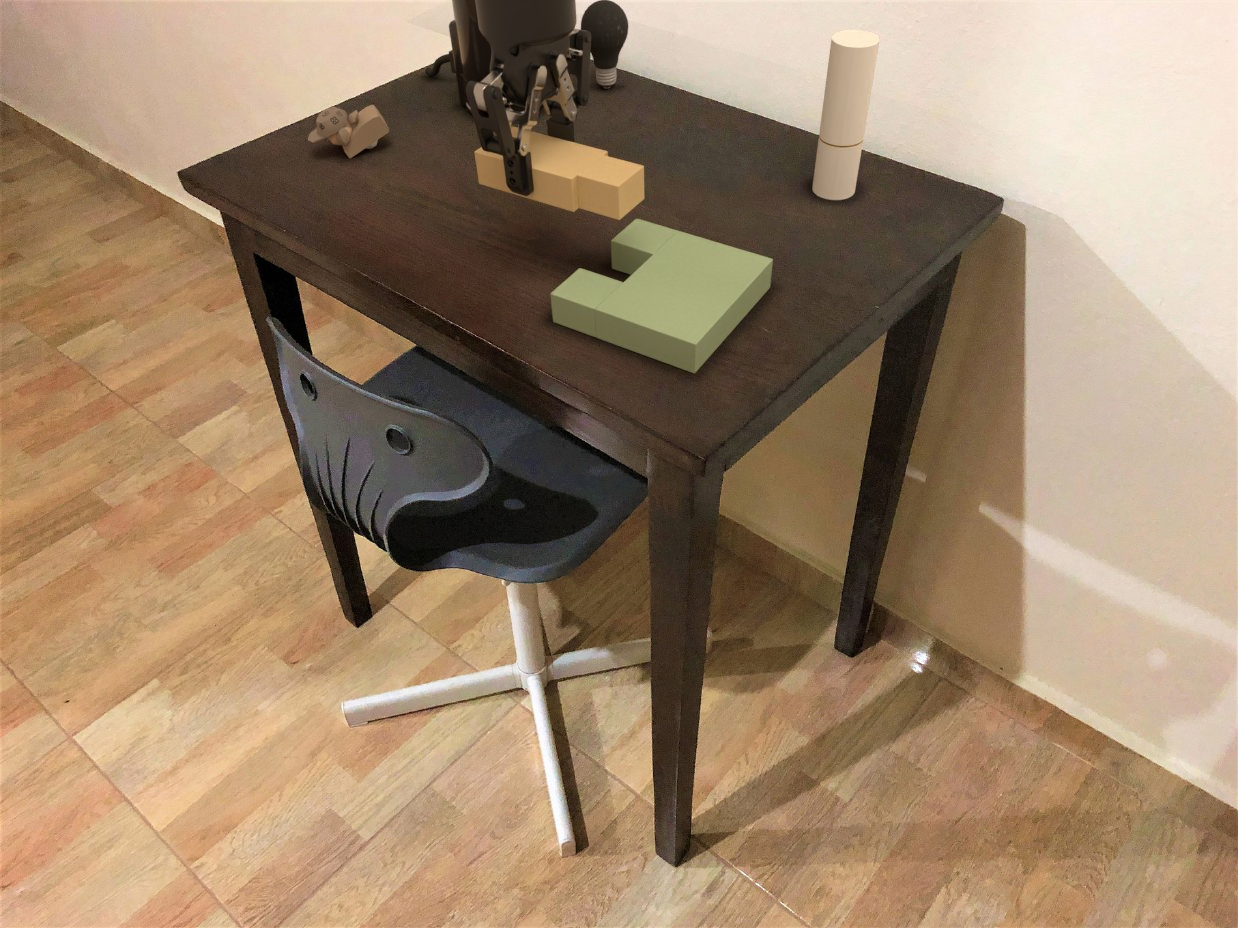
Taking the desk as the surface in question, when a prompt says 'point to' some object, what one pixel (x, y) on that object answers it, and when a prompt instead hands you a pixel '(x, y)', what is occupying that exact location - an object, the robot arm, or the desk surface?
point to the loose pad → (571, 176)
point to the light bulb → (605, 37)
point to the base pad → (665, 294)
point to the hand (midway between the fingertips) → (542, 176)
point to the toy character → (350, 129)
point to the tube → (844, 112)
